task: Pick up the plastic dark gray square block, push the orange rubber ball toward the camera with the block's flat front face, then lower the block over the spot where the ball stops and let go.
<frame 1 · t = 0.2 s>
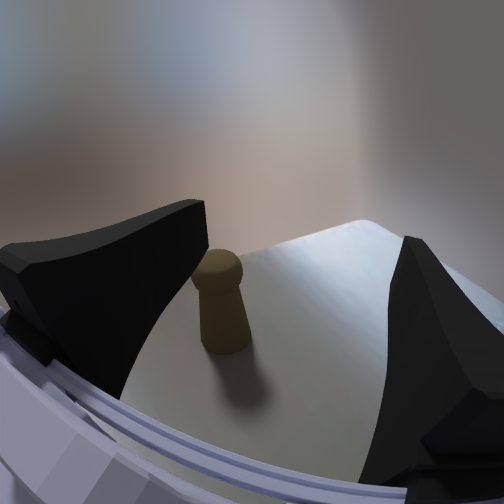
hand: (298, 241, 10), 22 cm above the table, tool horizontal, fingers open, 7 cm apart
cork: (225, 335, 35), on the table
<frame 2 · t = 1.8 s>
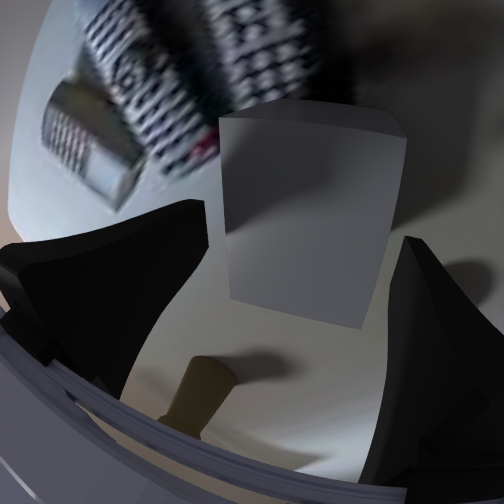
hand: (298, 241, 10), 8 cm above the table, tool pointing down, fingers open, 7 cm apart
dark gray square block: (330, 171, 16), on the table
cork: (213, 371, 34), on the table
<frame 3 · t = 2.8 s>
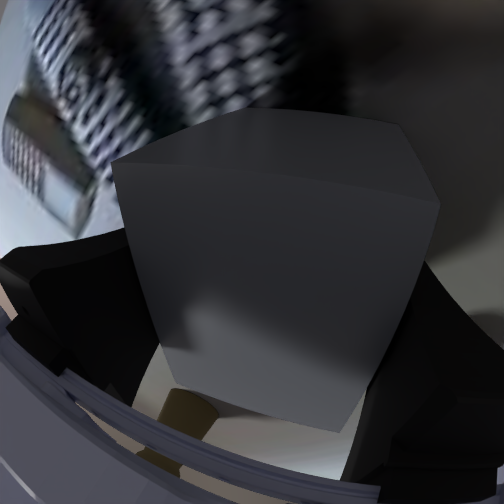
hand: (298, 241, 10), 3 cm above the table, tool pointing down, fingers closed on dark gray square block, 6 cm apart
dark gray square block: (313, 206, 13), on the table, touching gripper
cork: (194, 403, 30), on the table
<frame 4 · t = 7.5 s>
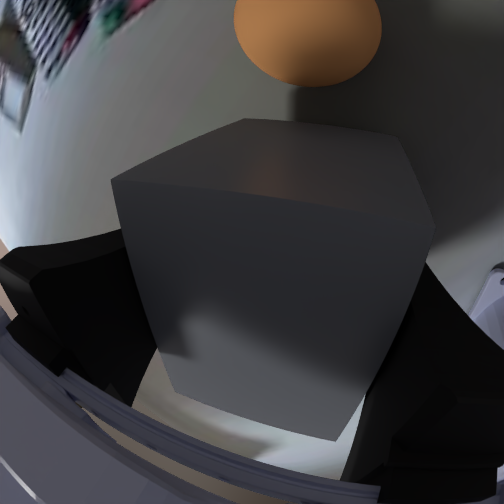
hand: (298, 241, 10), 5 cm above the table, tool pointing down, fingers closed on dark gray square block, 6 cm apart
dark gray square block: (312, 217, 13), point 2 cm above the table, touching gripper
ball: (308, 21, 8), on the table
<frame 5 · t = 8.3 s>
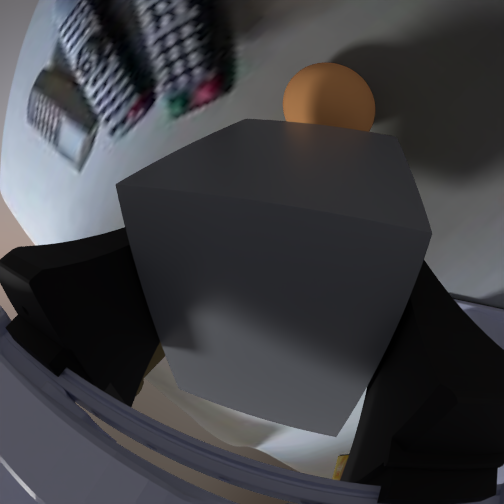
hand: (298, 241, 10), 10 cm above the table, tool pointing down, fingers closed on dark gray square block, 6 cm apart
candy box: (364, 455, 41), on the table
dark gray square block: (312, 216, 13), point 8 cm above the table, touching gripper
ball: (329, 106, 14), on the table
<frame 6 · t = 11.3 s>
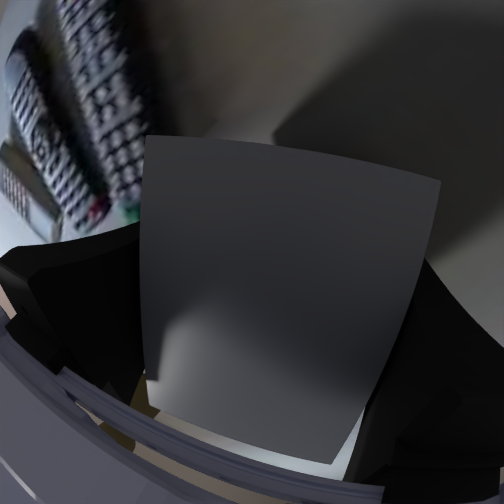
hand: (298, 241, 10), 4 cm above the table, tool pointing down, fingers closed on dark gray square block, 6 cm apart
dark gray square block: (303, 249, 13), point 2 cm above the table, tilted 18°, touching gripper
cork: (151, 385, 36), on the table
when the fingers open (3 cm above the table, at t = 12.2 s): dark gray square block drops 1 cm, on the table.
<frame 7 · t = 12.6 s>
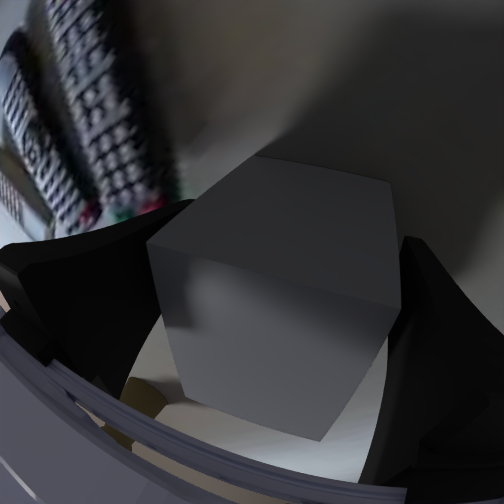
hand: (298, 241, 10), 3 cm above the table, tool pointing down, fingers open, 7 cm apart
dark gray square block: (308, 246, 14), on the table
cork: (148, 390, 35), on the table
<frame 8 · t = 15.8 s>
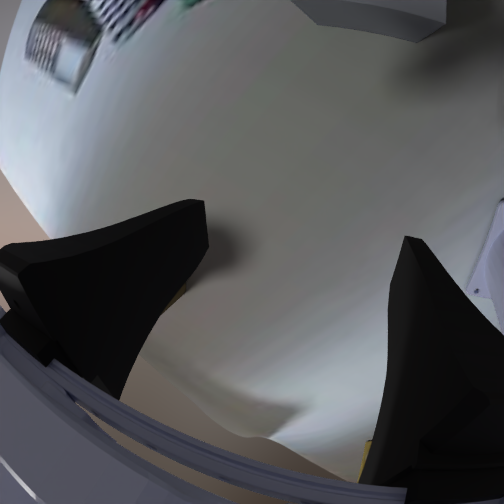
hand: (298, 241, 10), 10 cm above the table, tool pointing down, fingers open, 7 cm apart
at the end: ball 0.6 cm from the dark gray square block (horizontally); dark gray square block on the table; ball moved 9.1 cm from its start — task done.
